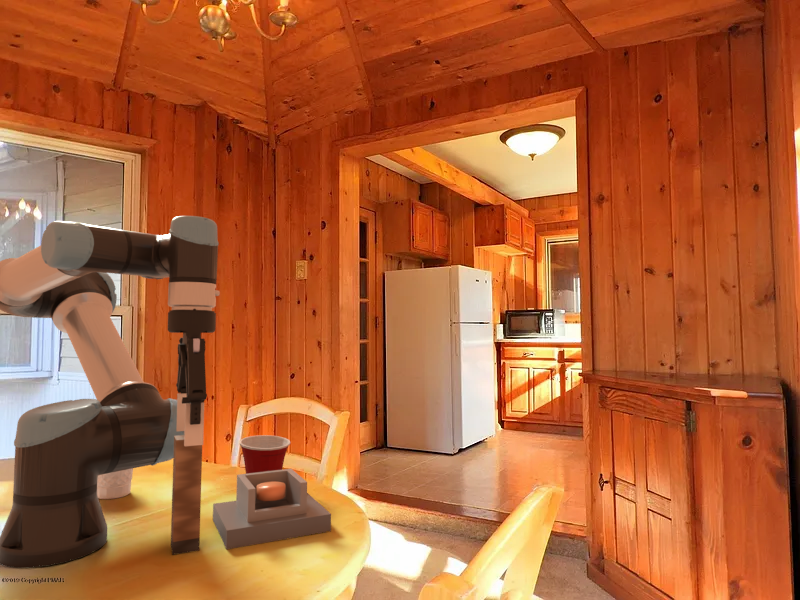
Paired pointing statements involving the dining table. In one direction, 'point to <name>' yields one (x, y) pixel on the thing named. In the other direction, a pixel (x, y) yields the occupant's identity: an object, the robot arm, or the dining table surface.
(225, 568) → the dining table surface
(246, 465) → the plastic cup
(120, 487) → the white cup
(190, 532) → the brown wooden block
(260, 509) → the switch panel
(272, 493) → the button
